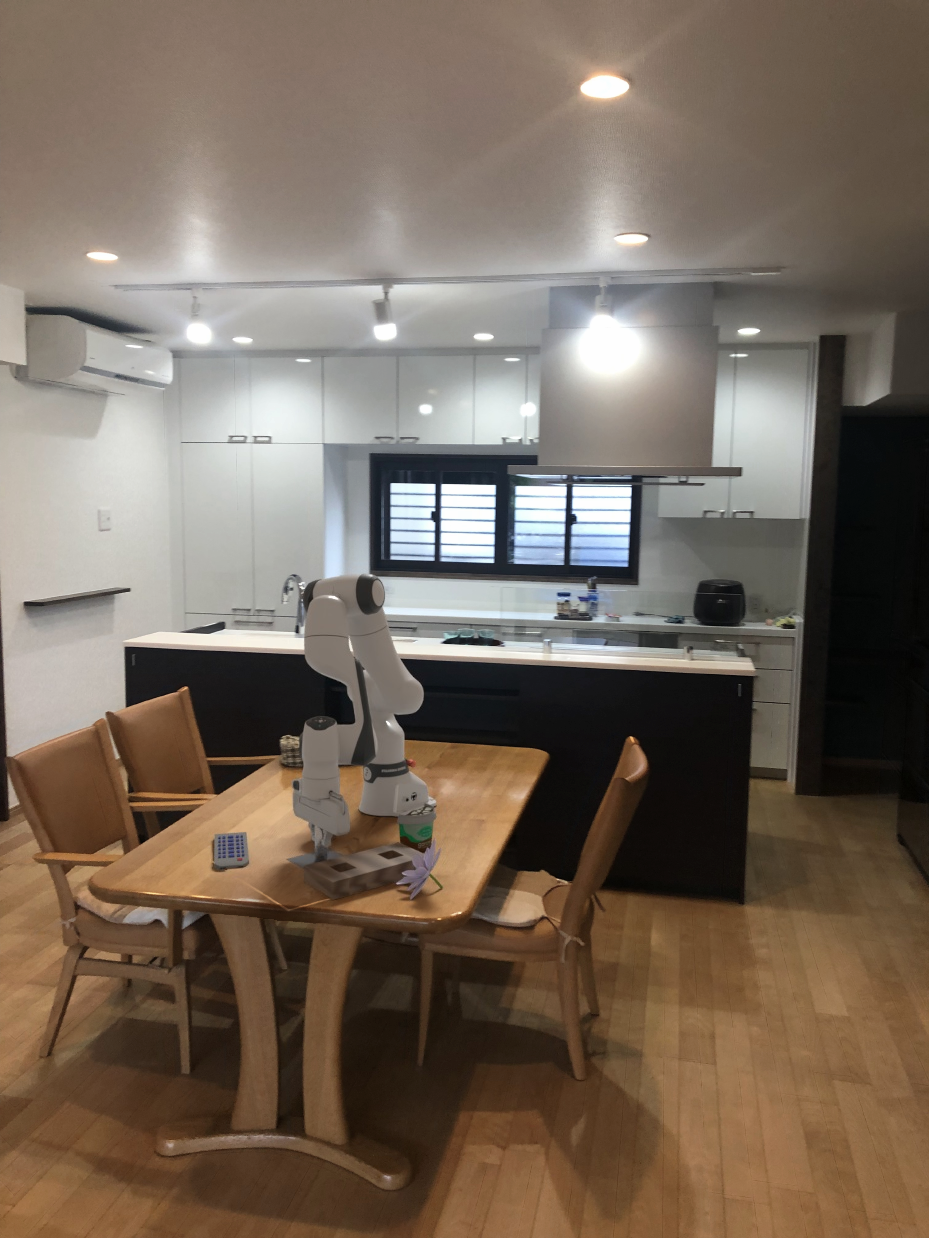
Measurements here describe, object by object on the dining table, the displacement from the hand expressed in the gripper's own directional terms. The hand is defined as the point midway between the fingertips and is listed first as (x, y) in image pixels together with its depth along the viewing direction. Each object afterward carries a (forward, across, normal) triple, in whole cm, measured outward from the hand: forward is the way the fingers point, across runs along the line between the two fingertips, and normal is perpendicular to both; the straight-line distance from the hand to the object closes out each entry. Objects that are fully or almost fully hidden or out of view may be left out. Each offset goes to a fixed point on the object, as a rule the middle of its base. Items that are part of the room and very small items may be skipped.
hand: (321, 843), depth 226 cm
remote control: (+5, +19, +14) cm, 24 cm away
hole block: (+4, -15, -3) cm, 16 cm away
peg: (+4, 0, 0) cm, 4 cm away
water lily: (+5, -27, -8) cm, 29 cm away
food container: (+5, -8, -24) cm, 26 cm away
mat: (+4, 0, 0) cm, 5 cm away
